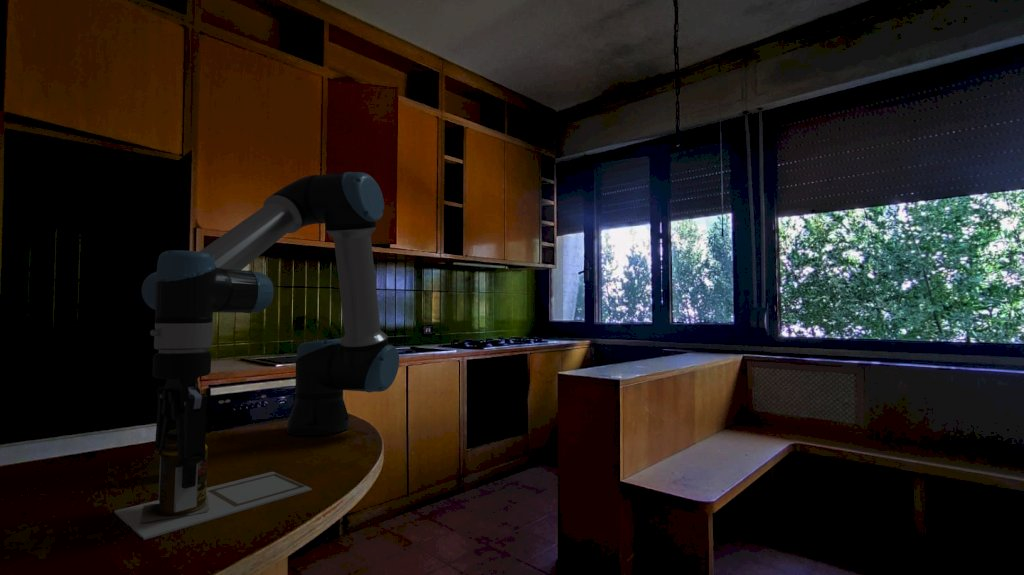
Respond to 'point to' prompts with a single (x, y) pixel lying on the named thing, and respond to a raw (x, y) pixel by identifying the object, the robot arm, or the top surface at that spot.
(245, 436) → the top surface
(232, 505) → the sheet
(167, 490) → the condiment
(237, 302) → the robot arm
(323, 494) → the top surface
